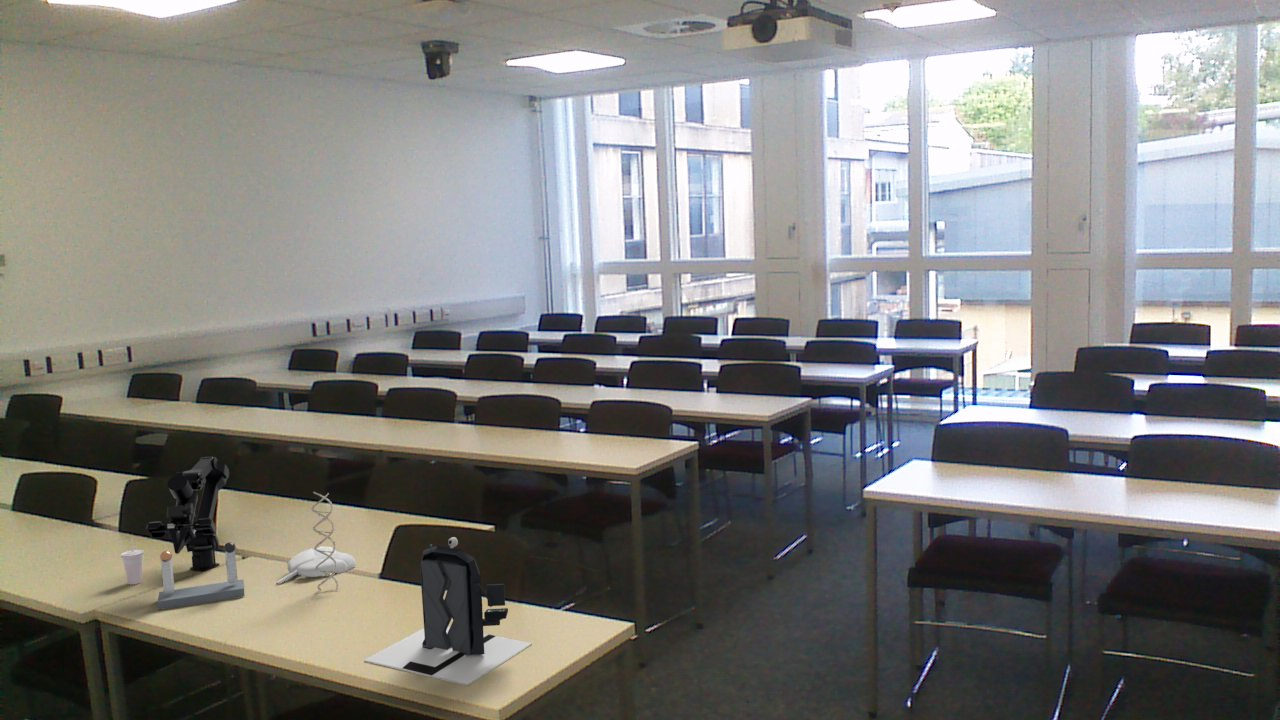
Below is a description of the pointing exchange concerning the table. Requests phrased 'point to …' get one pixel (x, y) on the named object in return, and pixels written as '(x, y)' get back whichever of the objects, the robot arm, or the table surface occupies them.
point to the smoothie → (133, 564)
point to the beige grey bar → (231, 562)
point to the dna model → (325, 539)
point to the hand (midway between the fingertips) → (176, 553)
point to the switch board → (200, 594)
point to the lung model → (311, 558)
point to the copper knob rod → (167, 571)
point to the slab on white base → (453, 623)
